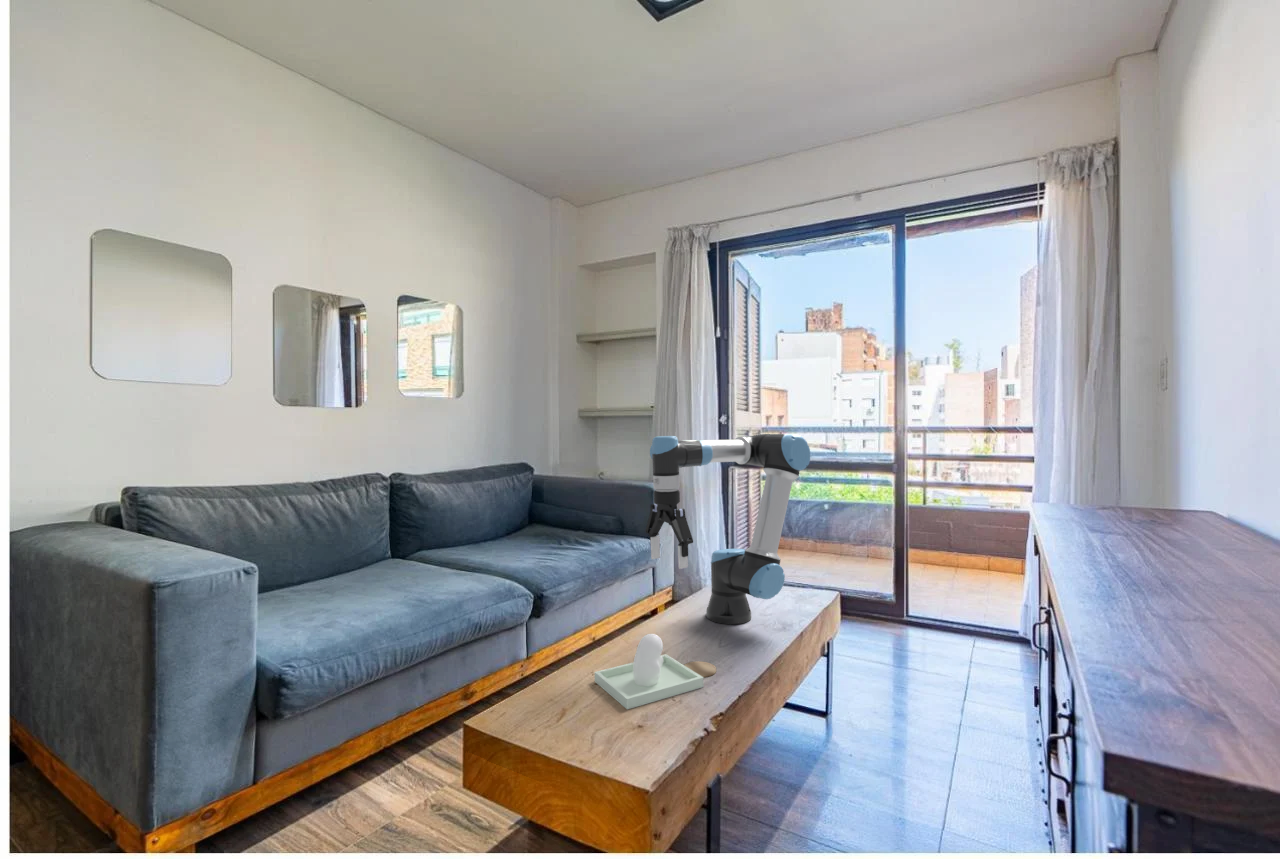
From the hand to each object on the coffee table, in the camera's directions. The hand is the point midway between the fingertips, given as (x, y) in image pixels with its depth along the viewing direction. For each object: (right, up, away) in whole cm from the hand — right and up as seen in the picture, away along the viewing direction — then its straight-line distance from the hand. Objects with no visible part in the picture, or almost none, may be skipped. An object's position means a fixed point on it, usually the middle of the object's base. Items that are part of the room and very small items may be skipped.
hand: (669, 563), depth 164 cm
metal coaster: (+7, -26, -12) cm, 29 cm away
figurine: (-6, -26, -20) cm, 33 cm away
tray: (-6, -26, -20) cm, 33 cm away
